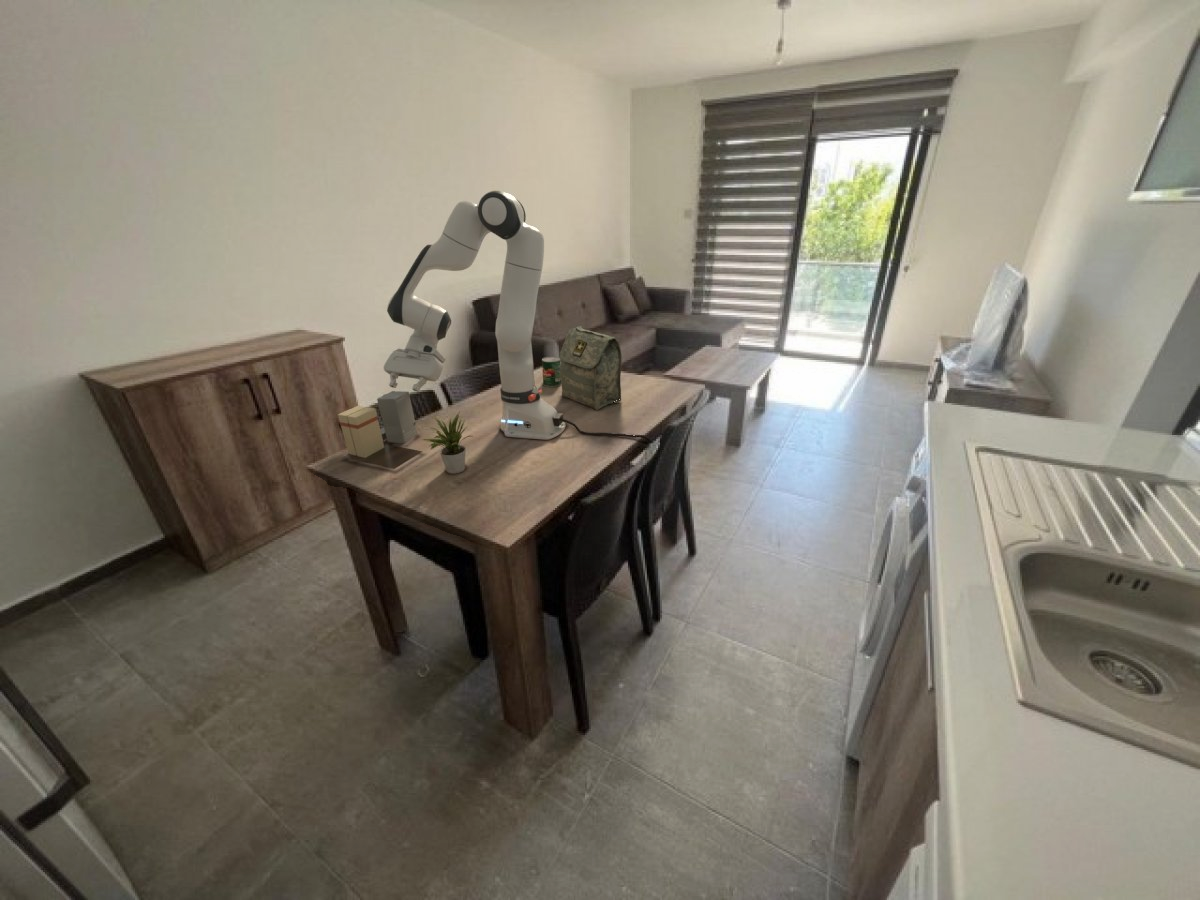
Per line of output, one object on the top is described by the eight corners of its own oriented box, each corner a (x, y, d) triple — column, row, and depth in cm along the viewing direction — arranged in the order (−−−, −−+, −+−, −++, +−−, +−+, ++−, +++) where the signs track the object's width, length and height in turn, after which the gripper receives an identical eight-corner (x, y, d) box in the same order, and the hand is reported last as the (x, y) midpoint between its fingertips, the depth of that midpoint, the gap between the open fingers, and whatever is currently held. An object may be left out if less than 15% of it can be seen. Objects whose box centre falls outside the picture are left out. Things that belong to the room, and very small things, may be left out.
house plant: (439, 455, 146) (431, 405, 139) (484, 456, 146) (478, 406, 139) (422, 479, 133) (412, 425, 126) (471, 479, 133) (464, 425, 126)
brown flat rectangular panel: (423, 454, 147) (423, 451, 146) (395, 472, 137) (394, 468, 136) (373, 444, 154) (372, 441, 153) (343, 460, 144) (342, 457, 143)
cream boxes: (384, 447, 149) (375, 408, 143) (365, 457, 143) (355, 417, 137) (367, 443, 151) (358, 405, 145) (348, 454, 145) (337, 414, 139)
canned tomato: (541, 386, 204) (539, 361, 199) (545, 380, 211) (544, 356, 206) (559, 387, 203) (557, 361, 198) (563, 381, 210) (562, 356, 205)
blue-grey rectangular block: (404, 432, 162) (402, 423, 160) (382, 444, 154) (379, 435, 152) (395, 430, 163) (393, 422, 162) (372, 442, 155) (370, 433, 153)
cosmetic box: (405, 446, 152) (395, 399, 145) (385, 444, 153) (374, 398, 146) (419, 435, 159) (411, 390, 152) (400, 434, 161) (391, 389, 154)
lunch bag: (556, 397, 192) (553, 328, 180) (587, 388, 202) (586, 322, 189) (594, 412, 177) (593, 339, 165) (624, 402, 187) (626, 331, 174)
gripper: (388, 343, 158) (372, 380, 154) (439, 349, 151) (422, 388, 147) (401, 353, 163) (385, 389, 160) (450, 359, 156) (434, 397, 153)
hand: (403, 388), depth 153 cm, fingers open, 8 cm apart
